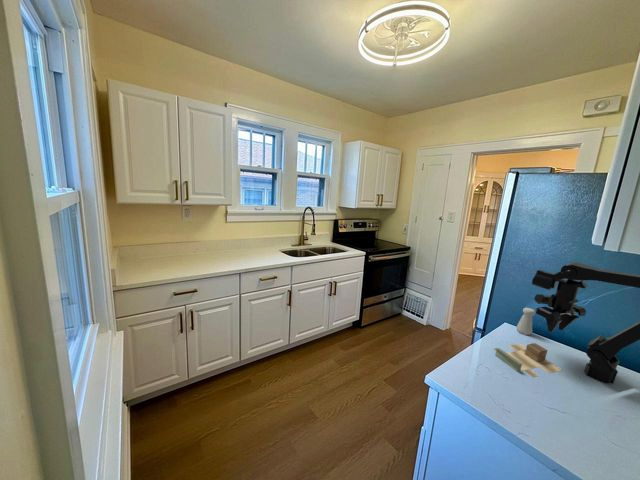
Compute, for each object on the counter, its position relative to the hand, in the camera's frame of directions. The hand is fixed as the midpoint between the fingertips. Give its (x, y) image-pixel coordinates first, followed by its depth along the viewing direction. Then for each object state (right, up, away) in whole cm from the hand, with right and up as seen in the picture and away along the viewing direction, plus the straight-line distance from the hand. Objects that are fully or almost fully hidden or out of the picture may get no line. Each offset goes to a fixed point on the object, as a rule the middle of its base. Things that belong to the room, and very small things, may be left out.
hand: (555, 330), depth 102 cm
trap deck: (-13, -12, -1) cm, 17 cm away
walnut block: (-8, -11, +1) cm, 13 cm away
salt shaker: (+1, -8, +18) cm, 20 cm away
